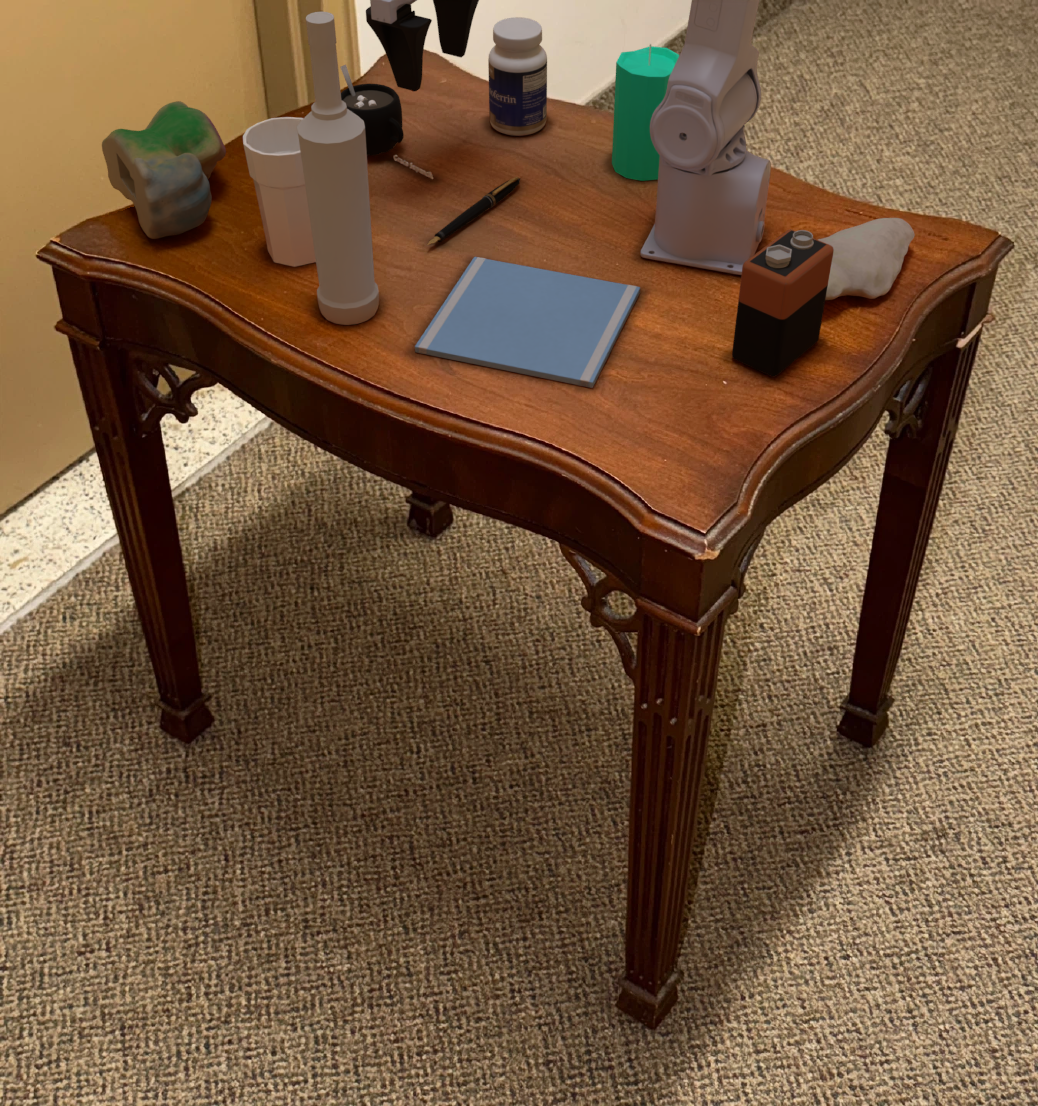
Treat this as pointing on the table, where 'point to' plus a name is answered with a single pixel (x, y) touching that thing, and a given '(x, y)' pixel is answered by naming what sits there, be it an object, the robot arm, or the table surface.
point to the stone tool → (867, 257)
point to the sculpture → (166, 168)
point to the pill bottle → (517, 77)
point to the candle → (639, 109)
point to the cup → (280, 189)
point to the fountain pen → (477, 209)
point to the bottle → (337, 187)
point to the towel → (530, 321)
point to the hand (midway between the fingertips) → (431, 70)
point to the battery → (781, 301)
